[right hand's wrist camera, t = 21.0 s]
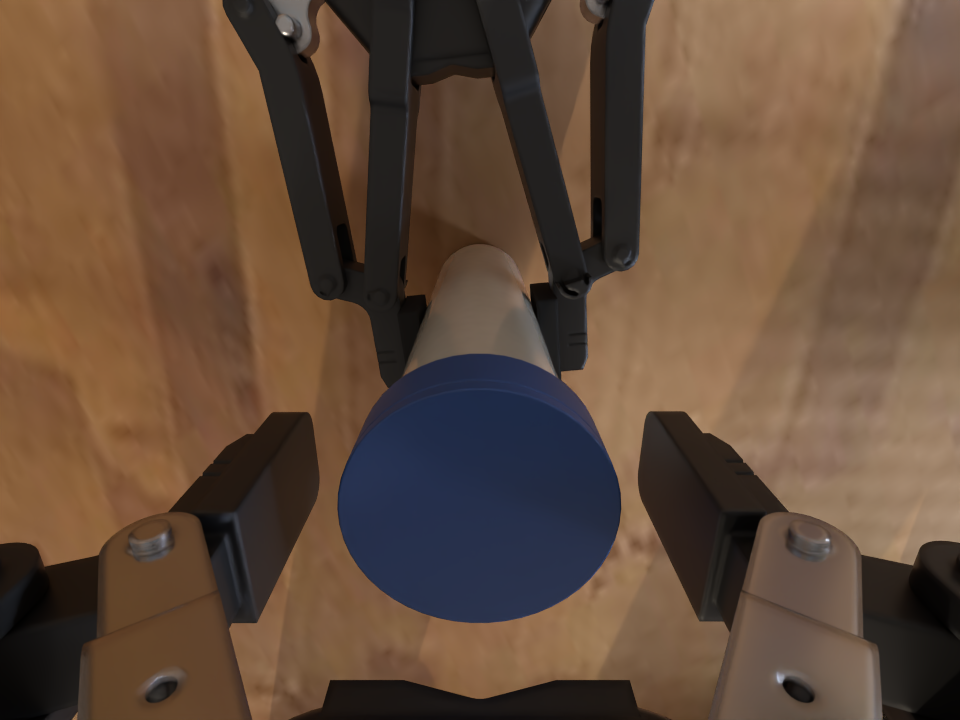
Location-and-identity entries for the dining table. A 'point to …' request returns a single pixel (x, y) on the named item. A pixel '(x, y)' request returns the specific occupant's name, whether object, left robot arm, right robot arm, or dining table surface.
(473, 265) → the beige cylindrical rod
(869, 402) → the dining table surface
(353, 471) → the lid
